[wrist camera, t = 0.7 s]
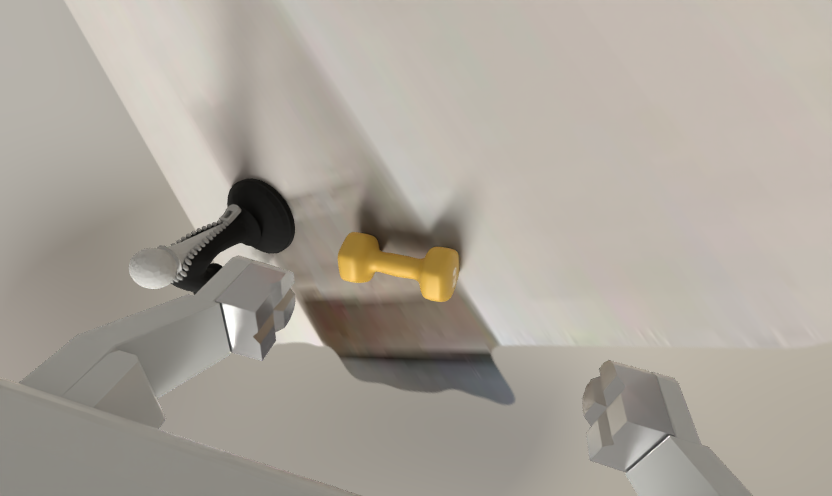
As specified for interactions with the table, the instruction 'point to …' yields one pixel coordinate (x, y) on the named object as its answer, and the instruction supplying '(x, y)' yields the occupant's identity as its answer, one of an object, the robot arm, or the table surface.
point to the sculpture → (219, 239)
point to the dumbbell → (399, 265)
